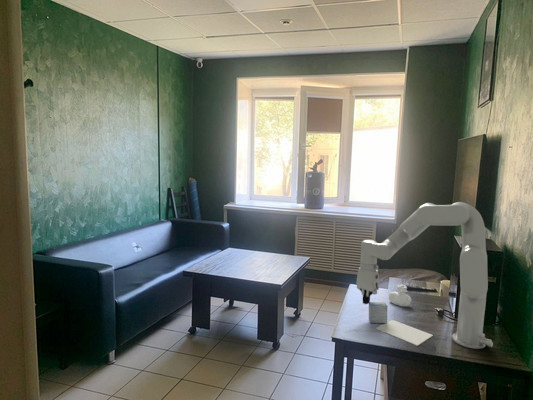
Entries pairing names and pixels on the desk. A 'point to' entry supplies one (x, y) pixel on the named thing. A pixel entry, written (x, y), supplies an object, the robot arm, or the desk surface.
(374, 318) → the medicine box
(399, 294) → the bust
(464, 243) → the robot arm
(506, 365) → the desk surface
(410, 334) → the mat
